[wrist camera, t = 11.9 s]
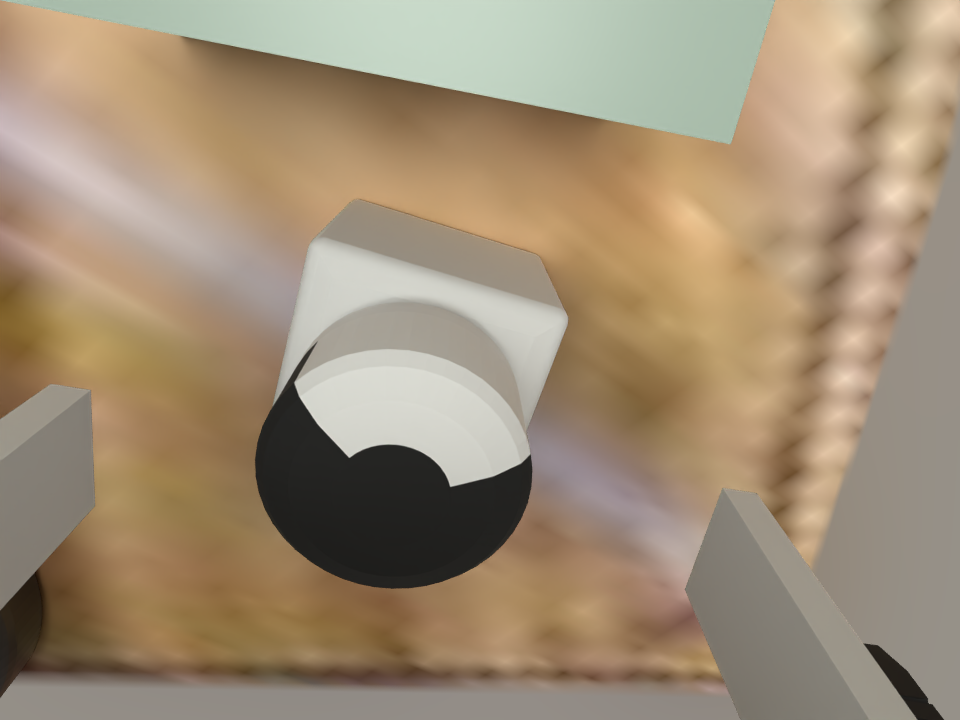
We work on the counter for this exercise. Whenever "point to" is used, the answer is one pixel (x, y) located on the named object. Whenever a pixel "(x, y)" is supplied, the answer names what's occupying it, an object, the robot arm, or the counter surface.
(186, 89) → the counter surface
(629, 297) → the counter surface
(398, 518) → the medicine bottle
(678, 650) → the counter surface
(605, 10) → the lid
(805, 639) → the robot arm
